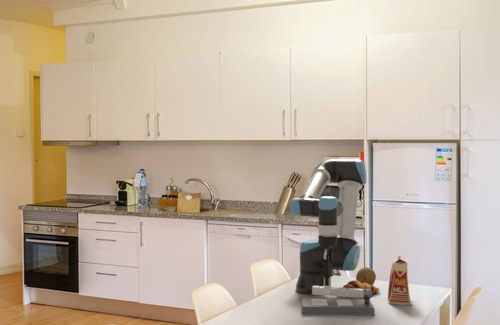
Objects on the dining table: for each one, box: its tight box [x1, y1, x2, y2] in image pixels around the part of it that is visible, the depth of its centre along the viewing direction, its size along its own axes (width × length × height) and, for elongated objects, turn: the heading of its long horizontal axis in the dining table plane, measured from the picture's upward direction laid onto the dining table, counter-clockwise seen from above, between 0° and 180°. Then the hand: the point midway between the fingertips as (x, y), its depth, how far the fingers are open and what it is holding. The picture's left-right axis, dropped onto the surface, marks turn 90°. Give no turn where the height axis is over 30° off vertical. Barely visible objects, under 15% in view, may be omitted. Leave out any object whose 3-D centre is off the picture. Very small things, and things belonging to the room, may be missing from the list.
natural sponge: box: [355, 267, 377, 286], centre depth 261 cm, size 9×9×10 cm
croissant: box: [341, 279, 380, 295], centre depth 251 cm, size 21×10×8 cm, turn 108°
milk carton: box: [387, 255, 412, 306], centre depth 240 cm, size 9×9×20 cm
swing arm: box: [311, 286, 373, 299], centre depth 228 cm, size 4×24×3 cm, turn 76°
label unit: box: [301, 297, 376, 316], centre depth 226 cm, size 12×28×5 cm, turn 87°
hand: (327, 292), depth 228 cm, fingers closed
